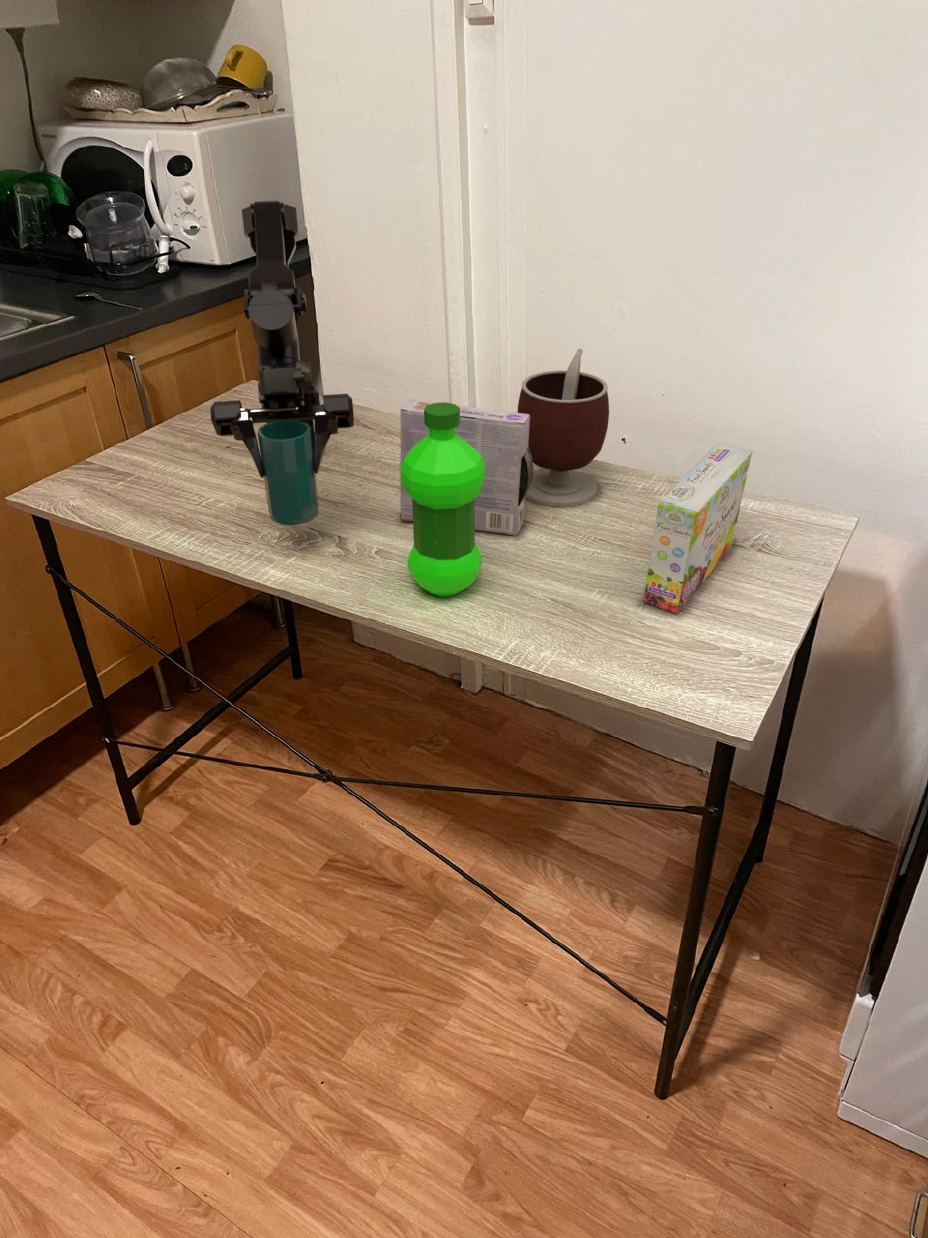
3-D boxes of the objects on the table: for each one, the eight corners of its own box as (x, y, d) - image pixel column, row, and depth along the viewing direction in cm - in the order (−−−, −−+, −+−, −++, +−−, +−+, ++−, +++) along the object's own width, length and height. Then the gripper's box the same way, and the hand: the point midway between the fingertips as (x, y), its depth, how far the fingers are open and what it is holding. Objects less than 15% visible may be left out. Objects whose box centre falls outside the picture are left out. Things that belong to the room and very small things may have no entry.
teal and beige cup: (308, 498, 132) (299, 415, 125) (326, 518, 127) (318, 433, 120) (263, 509, 129) (250, 425, 122) (279, 530, 124) (268, 444, 117)
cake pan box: (531, 522, 138) (536, 410, 128) (524, 538, 134) (529, 424, 124) (409, 507, 142) (405, 397, 132) (399, 522, 138) (394, 410, 128)
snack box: (682, 617, 117) (698, 512, 109) (640, 604, 120) (654, 500, 111) (735, 545, 132) (754, 448, 123) (698, 535, 134) (714, 439, 126)
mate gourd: (590, 515, 140) (600, 388, 128) (503, 500, 144) (506, 376, 132) (612, 472, 152) (624, 353, 140) (532, 460, 156) (537, 343, 144)
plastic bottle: (431, 558, 129) (427, 387, 115) (497, 579, 125) (501, 403, 110) (391, 592, 122) (381, 414, 108) (459, 615, 118) (458, 432, 103)
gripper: (199, 342, 117) (208, 458, 114) (347, 334, 119) (358, 448, 116) (213, 380, 128) (221, 487, 125) (348, 372, 130) (358, 477, 127)
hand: (288, 474), depth 123 cm, fingers closed on teal and beige cup, 7 cm apart
